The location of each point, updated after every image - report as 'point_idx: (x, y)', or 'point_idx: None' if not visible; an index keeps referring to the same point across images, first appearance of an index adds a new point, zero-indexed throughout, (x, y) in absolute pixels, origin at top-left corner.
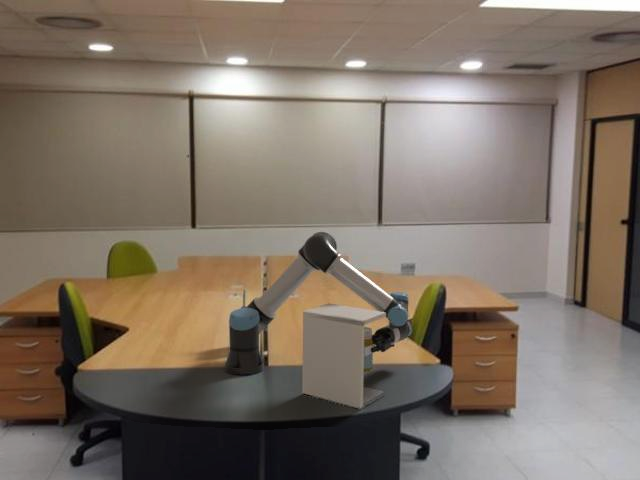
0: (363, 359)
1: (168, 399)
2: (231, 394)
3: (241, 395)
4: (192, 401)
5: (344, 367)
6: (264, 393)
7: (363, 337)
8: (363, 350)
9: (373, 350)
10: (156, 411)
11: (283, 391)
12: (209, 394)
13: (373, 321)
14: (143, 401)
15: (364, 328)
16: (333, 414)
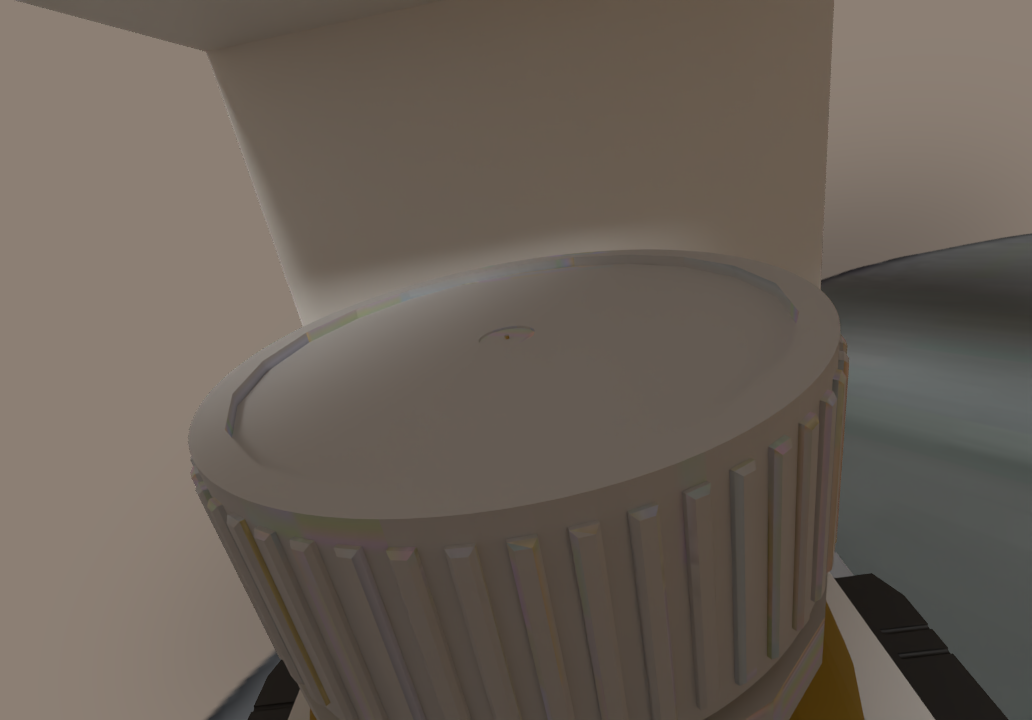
0: (304, 325)
1: (984, 286)
2: (962, 367)
3: (930, 380)
4: (930, 308)
5: None
6: (915, 430)
7: (249, 160)
8: (283, 261)
9: None
10: (881, 273)
11: (906, 488)
12: (996, 335)
13: (93, 20)
14: (989, 264)
15: (547, 385)
16: None
